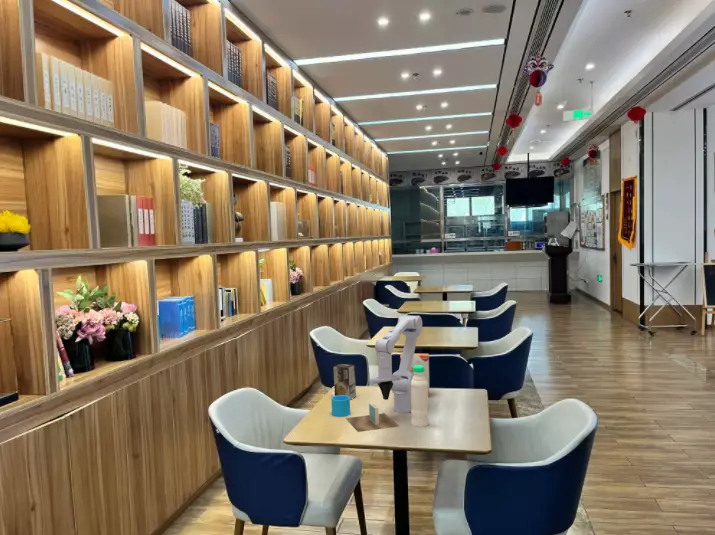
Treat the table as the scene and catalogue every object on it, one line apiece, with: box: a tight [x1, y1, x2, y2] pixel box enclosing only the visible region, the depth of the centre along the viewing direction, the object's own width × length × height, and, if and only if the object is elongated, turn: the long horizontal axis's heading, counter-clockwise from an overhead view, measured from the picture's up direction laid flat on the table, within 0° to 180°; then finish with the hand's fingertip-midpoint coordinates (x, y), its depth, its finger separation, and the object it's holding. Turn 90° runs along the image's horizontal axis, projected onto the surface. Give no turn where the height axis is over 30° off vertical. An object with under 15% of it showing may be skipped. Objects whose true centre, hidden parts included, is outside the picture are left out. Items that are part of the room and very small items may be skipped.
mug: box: [330, 395, 351, 418], centre depth 234 cm, size 12×8×8 cm
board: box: [345, 412, 400, 433], centre depth 220 cm, size 18×18×1 cm
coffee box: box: [333, 363, 357, 401], centre depth 260 cm, size 9×6×16 cm
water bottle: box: [410, 365, 430, 427], centre depth 216 cm, size 7×7×25 cm
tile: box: [368, 402, 380, 425], centre depth 220 cm, size 2×8×7 cm, turn 17°
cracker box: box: [399, 352, 430, 398], centre depth 260 cm, size 14×6×21 cm, turn 81°
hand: (385, 399), depth 222 cm, fingers closed
